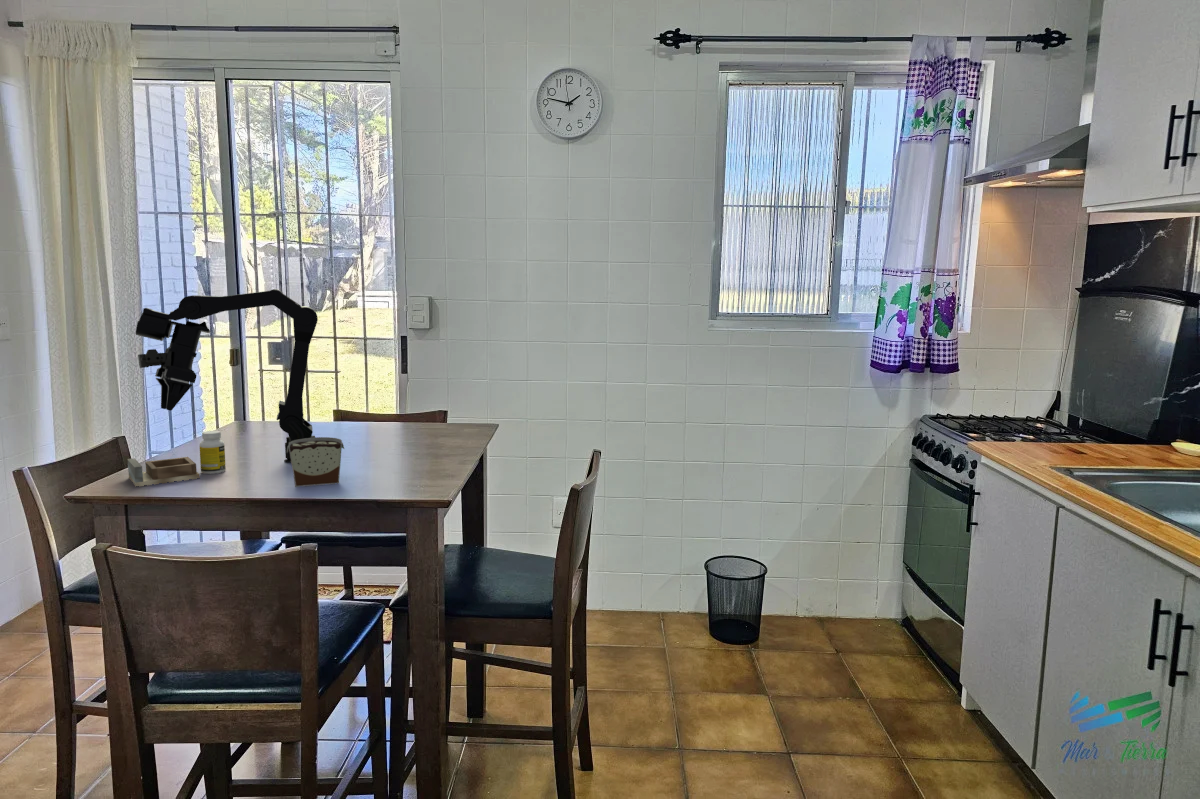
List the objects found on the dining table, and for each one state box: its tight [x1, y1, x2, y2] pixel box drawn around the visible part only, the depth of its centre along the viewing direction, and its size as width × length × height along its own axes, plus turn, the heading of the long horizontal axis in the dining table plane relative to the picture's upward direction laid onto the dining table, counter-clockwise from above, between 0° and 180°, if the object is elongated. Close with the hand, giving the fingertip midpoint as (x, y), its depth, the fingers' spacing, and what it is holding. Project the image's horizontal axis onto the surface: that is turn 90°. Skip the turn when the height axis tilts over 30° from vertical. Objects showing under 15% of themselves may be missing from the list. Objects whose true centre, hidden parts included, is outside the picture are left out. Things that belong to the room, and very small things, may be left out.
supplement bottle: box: [199, 430, 227, 475], centre depth 188 cm, size 5×5×10 cm
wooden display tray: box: [127, 456, 201, 487], centre depth 182 cm, size 13×10×4 cm
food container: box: [287, 436, 345, 488], centre depth 180 cm, size 12×6×10 cm, turn 111°
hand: (166, 409), depth 186 cm, fingers open, 9 cm apart
